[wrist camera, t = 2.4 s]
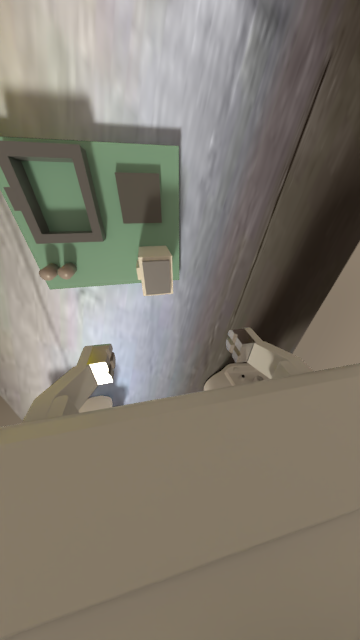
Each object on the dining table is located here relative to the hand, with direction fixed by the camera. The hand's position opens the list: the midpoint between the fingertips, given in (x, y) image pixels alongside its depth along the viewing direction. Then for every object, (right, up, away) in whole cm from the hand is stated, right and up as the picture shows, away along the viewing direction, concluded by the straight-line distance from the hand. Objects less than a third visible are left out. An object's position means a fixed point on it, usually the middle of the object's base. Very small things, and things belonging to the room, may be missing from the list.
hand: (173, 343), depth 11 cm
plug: (-4, +10, +14) cm, 18 cm away
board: (-10, +15, +12) cm, 21 cm away
